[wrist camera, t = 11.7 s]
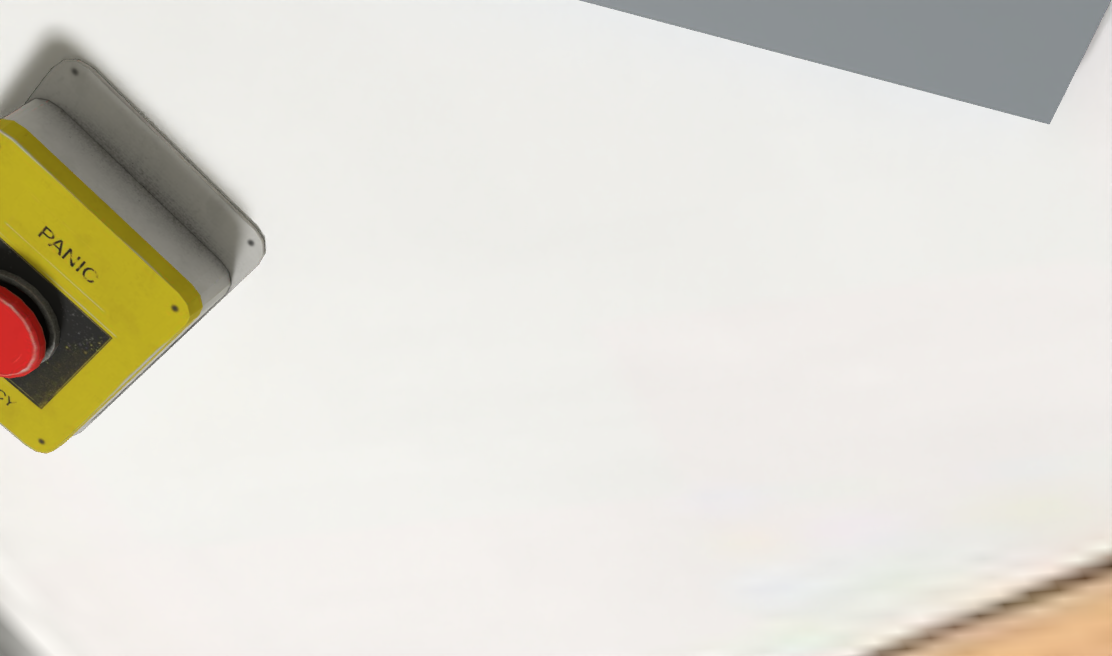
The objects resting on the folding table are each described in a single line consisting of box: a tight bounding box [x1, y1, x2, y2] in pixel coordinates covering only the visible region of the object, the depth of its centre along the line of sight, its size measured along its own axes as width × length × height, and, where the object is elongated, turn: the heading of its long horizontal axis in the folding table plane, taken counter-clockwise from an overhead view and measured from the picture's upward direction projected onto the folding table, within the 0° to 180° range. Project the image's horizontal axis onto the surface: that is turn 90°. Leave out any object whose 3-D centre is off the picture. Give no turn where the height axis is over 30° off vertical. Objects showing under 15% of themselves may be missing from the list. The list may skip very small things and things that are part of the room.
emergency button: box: [0, 59, 265, 453], centre depth 36 cm, size 9×4×15 cm
